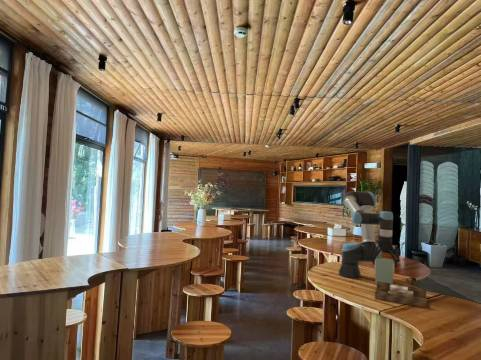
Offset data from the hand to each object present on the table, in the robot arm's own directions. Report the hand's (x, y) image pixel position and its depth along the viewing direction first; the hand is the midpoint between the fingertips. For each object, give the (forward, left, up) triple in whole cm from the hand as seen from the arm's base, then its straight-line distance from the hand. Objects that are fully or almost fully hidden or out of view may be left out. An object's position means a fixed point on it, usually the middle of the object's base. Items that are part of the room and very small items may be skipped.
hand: (384, 271), depth 216 cm
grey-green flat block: (0, 0, -8) cm, 8 cm away
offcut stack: (+10, -20, -10) cm, 24 cm away
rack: (+10, -17, -11) cm, 23 cm away
